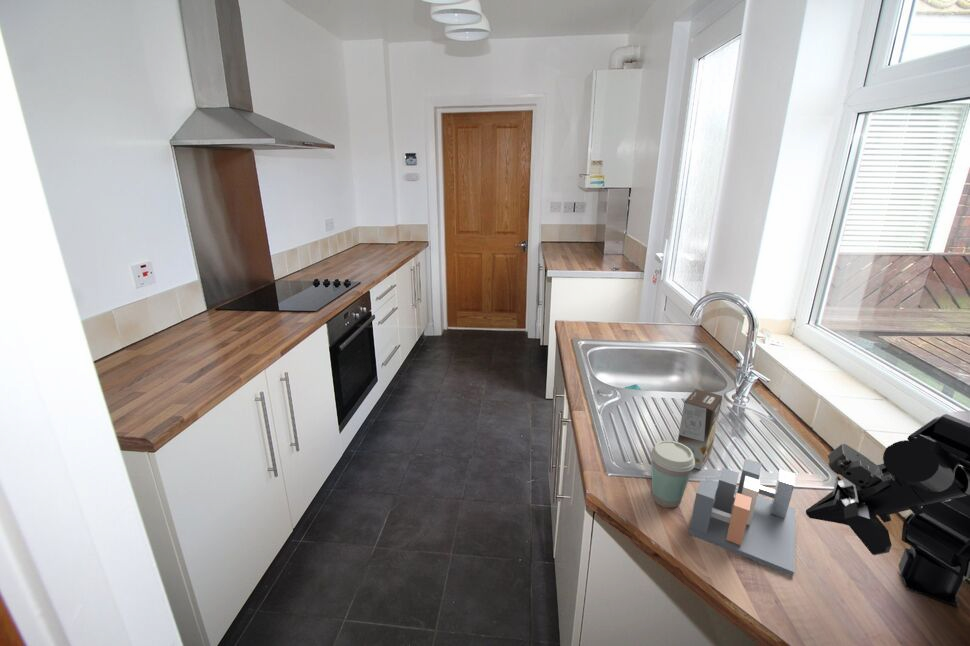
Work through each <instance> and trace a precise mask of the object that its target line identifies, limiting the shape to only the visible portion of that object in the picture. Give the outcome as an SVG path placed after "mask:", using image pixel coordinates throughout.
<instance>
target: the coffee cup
mask: <svg viewBox="0 0 970 646" xmlns="http://www.w3.org/2000/svg"><path fill="white" fill-rule="evenodd" d="M650 457H651V497H652V499H653V500H654V502H656V503H657V504H658V505H660V506H661V507H665V508H676V507H679V506H680V505H681V502H682V499H683V497H684V494H685V491H686V488H687V485H688V481H689V479H690V476H691V473H692V470H693V469H694V466H695V459H694V456H693V452H692V451H691V450H690V449H689V448H688V447H687V446H685V445H683V444H681V443H678V441H676V440H675V441H674V440H661V441H660V440H659V441H658V442H656V444H655V445H654V446H653V448H652V449H651V452H650Z"/></svg>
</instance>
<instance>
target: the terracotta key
mask: <svg viewBox="0 0 970 646" xmlns="http://www.w3.org/2000/svg"><path fill="white" fill-rule="evenodd" d="M751 499H752V498H751V497H748V496H745V495H742V494H739V493H736V497H735V501H734V506H733V510H732V514H729V513H726V512H723V511H721V510H718V509H715V508H712V512H711V517H714V518H716V519H719V520H722V521H724V522H727V523H730V524H729V528H728V533H727V538H726V540H728V541H731V542H733V543H736V544H738V545H741V544H742V540H743V536H744V532H745V528H746V524H747V519H748V515H749V511H750V505H751Z"/></svg>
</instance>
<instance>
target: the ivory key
mask: <svg viewBox="0 0 970 646" xmlns="http://www.w3.org/2000/svg"><path fill="white" fill-rule="evenodd" d="M760 483H761V480H760V479H759V480H758V479H754V478H751V477H748V476H745V480H744V485H743V489H742V495H745V496H748V497H751V498H752V499H751V505H750V511H749V515H748V519H747V525H751V520H752V516H753V512H754V508H755V504H756V500H757V496H759V493H758V492H759V485H761V484H760ZM716 493H717V491H716ZM715 497H716V496H715ZM735 497H736V495H735V494H734V498H733V503H734V501H735Z"/></svg>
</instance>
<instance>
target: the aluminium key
mask: <svg viewBox="0 0 970 646" xmlns="http://www.w3.org/2000/svg"><path fill="white" fill-rule="evenodd" d="M795 477H796V475H795V473H792V472H788V471H786V470H781V469H779V472H778V476H777V480H776V483H775V487H774V489H773V488H770V487H767V486H763V485H761V484H760V485H759V492H758V495H759V494H760V495H762V496H766V497H768V498H771V500H772V503H771V514H774V515H777V516H779V517H782V518H785V517H786V514H787V510H788V507H789V506H790V504H791V503H790V502H791V499H792V495H793V491H794V488H795Z"/></svg>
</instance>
